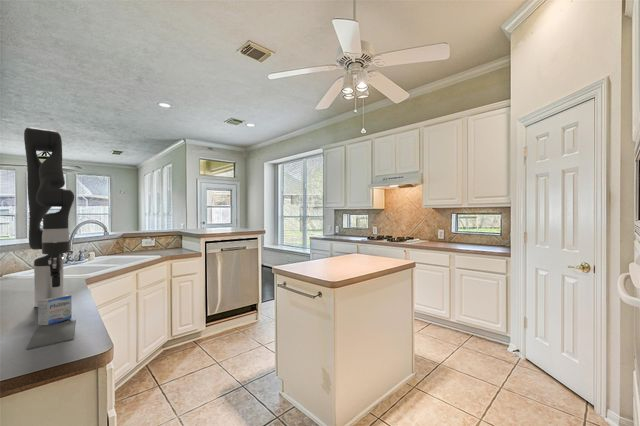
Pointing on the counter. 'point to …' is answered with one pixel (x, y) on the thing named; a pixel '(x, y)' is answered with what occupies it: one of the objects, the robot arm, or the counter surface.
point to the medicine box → (54, 310)
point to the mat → (52, 334)
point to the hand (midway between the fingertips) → (56, 286)
